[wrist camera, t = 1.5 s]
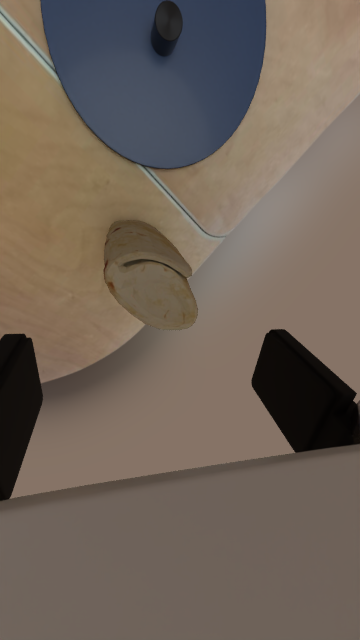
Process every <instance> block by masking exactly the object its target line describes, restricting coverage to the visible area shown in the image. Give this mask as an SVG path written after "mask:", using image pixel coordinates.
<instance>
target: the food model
mask: <svg viewBox="0 0 360 640" xmlns="http://www.w3.org/2000/svg"><path fill="white" fill-rule="evenodd" d="M104 262H105V268H104V279H105V282H106V284H107V286H108V288H109V290H110V292H111V293H112V295H113V296H114V297H115V299H116V300H117V301H118V302H119V304H121V305H122V306H123V307H124V308H125V309H126V310H127V311H128V312H129V313H130V314H132V315H133V316H135V317H136V318H138V319H139V320H140V321H142V322H143V323H145V324H147V325H150V326H152V327H155V328H158V329H163V330H182V329H186V328H189V327H190V326H192V325H193V324H194V323H195V321H196V318H197V315H198V314H197V313H198V308H197V304H196V300H195V298H194V296H193V293H192V291H191V289H190V286H189V284H188V281H187V278H188V277H190V276H192V269H191V267H190V266H189V264H188V263H187V262H186V261H185V260H184V258H183V257H182V255H181V254H180V253H179V251H178V250H177V249H176V247H175V246H174V245H173V244H172V243H171V242H170V241H169V240H168V239H167V238H166V237H165V236H164V235H162V234H161V233H160V232H159V231H158V230H157V229H155V228H154V227H152V226H151V225H149V224H147V223H145V222H140V221H129V220H127V221H116V222H114V223H113V224H112V225H111V226H110V228H109V232H108V234H107V240H106V243H105V250H104Z"/></svg>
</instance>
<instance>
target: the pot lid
mask: <svg viewBox="0 0 360 640" xmlns="http://www.w3.org/2000/svg"><path fill="white" fill-rule="evenodd" d="M41 11H42V18H43V24H44V31H45V35H46V39H47V43H48V47H49V51H50V55H51V58H52V60H53V63H54V66H55V69H56V72H57V75H58V77H59V79H60V81H61V83H62V85H63V88H64V90H65V92H66V94H67V96H68V97H69V99H70V101H71V102H72V104H73V106H74V108H75V109H76V111H77V112H78V114H79V115H80V116H81V118H82V119H83V121H84V122H85V123H86V125H87V126H88V127H89V128H90V129H91V130H92V131H93V132H94V134H95V135H96V136H97V137H98V138H99V139H100V140H102V141H103V142H104V143H105V144H106V145H107V146H108V147H109V148H111V149H112V150H114V151H115V152H117V153H118V154H119V155H121V156H123V157H125V158H127V159H129V160H131V161H132V162H135V163H138V164H141V165H143V166H148V167H152V168H160V169H172V168H181V167H184V166H188V165H192V164H194V163H196V162H199V161H201V160H203V159H205V158H206V157H208V156H209V155H211V154H213V153H214V152H215V151H216V150H217V149H219V148H220V147H221V146H222V145H223V144H224V143H225V142H226V141H227V140H228V139H229V138H230V137H231V136H232V134H233V133H234V131H235V130H236V129H237V127H238V126H239V125H240V123H241V121H242V119H243V118H244V116H245V114H246V112H247V110H248V108H249V106H250V104H251V101H252V99H253V97H254V94H255V91H256V88H257V85H258V82H259V77H260V73H261V69H262V64H263V58H264V50H265V40H266V5H265V0H41Z"/></svg>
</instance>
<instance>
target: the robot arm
mask: <svg viewBox="0 0 360 640" xmlns="http://www.w3.org/2000/svg"><path fill="white" fill-rule="evenodd" d="M252 387H253V388H254V390H255V392H256V393H257V395H258V396H259V398H260V399H261V401H262V402H263V404H264V405H265V407H266V409H267V410H268V411H269V413H270V415H271V416H272V418H273V419H274V421H275V422H276V424H277V425H278V427H279V428H280V430H281V432H282V433H283V435H284V436H285V438H286V439H287V441H288V442H289V444H290V445H291V447H292V448H293V450H294V451H295V453H292V454H285V455H278V456H271V457H265V458H258V459H251V460H245V461H238V462H231V463H225V464H218V465H212V466H206V467H200V468H192V469H186V470H179V471H173V472H167V473H161V474H154V475H148V476H141V477H135V478H130V479H123V480H116V481H110V482H104V483H98V484H92V485H85V486H79V487H74V488H68V489H62V490H57V491H51V492H45V493H39V494H34V495H28V496H22V497H17V498H12V499H9V498H10V497H11V494H12V491H13V488H14V485H15V482H16V480H17V477H18V474H19V471H20V468H21V465H22V461H23V458H24V456H25V453H26V450H27V447H28V444H29V441H30V438H31V435H32V432H33V429H34V426H35V423H36V420H37V417H38V414H39V411H40V408H41V405H42V400H43V394H42V389H41V384H40V378H39V373H38V368H37V363H36V358H35V352H34V347H33V342H32V339H31V338H26V336H25V334H5V335H4V336H3V337H2V338H1V340H0V640H360V401H359V402H358V403H357V404H356V403H355V402H354V401H353V400H354V398H355V396H356V394H357V393H356V392H355V391H353V390H352V389H351V388H350V387H349V386H348V385H347V384H346V383H344V382H343V381H342V380H341V379H340V378H339V377H338V376H337V375H336V374H334V373H333V372H332V371H331V370H330V369H329V368H328V367H327V366H325V365H324V364H323V363H322V362H321V361H320V360H319V359H318V358H316V357H315V356H314V355H313V354H312V353H311V352H310V351H308V350H307V349H306V348H305V347H304V346H303V345H302V344H301V343H300V342H298V341H297V340H296V339H295V338H294V337H293V336H292V335H291V334H289V333H288V332H287V331H286V330H283V329H277V330H270V331H269V333H267V334H266V336H265V338H264V342H263V345H262V348H261V351H260V355H259V358H258V361H257V365H256V367H255V371H254V374H253V377H252Z"/></svg>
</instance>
